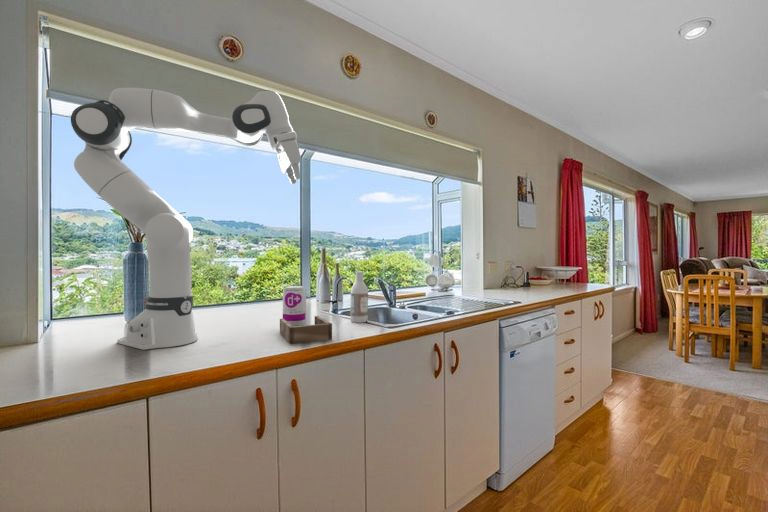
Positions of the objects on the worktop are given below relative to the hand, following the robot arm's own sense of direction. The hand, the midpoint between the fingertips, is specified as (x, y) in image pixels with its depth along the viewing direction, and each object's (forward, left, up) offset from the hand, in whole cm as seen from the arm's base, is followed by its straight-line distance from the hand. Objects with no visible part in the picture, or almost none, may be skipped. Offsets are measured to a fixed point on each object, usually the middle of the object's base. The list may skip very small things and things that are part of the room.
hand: (296, 181), depth 125 cm
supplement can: (-5, +7, -52) cm, 53 cm away
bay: (+5, -3, -52) cm, 52 cm away
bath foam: (+13, +26, -52) cm, 60 cm away
